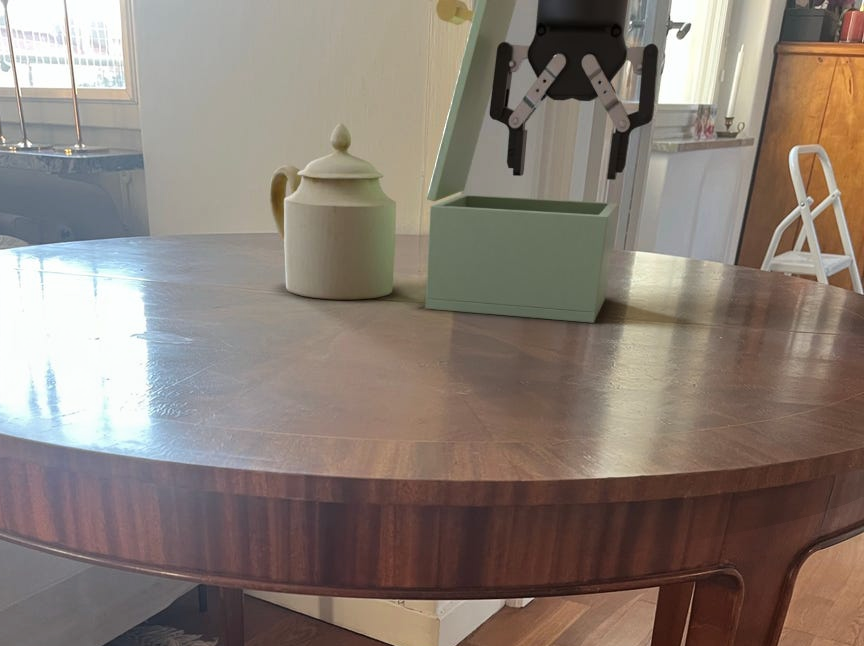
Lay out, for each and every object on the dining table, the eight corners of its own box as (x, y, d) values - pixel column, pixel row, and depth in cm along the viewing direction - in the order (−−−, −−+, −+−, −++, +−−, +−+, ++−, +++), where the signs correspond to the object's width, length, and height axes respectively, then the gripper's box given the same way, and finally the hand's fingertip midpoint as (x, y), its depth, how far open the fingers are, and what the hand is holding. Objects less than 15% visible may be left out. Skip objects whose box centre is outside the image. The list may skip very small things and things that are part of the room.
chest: (605, 298, 97) (618, 203, 93) (593, 323, 86) (608, 216, 82) (454, 286, 101) (460, 194, 96) (425, 308, 90) (430, 206, 86)
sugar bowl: (232, 291, 95) (223, 120, 88) (278, 274, 104) (274, 118, 97) (372, 304, 91) (375, 126, 84) (407, 286, 100) (413, 124, 93)
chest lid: (517, -2, 87) (465, -17, 88) (491, -16, 76) (433, -34, 77) (464, 190, 96) (417, 175, 97) (434, 201, 85) (382, 184, 86)
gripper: (676, -34, 81) (645, 178, 89) (509, -34, 84) (494, 171, 92) (674, -46, 74) (641, 184, 82) (494, -44, 78) (479, 176, 86)
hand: (564, 177), depth 87 cm, fingers open, 8 cm apart
